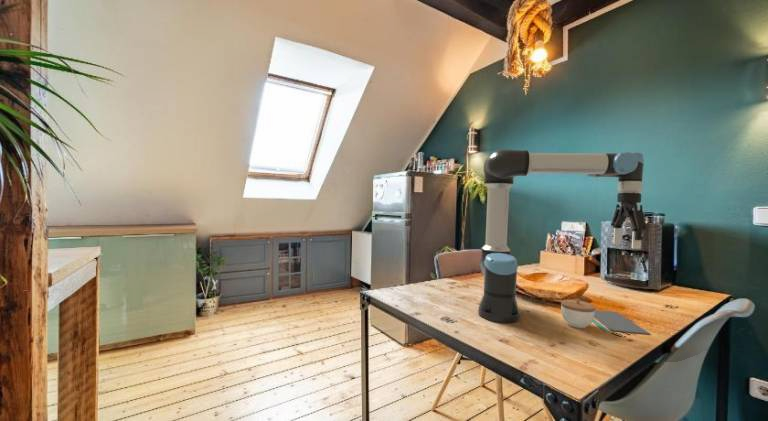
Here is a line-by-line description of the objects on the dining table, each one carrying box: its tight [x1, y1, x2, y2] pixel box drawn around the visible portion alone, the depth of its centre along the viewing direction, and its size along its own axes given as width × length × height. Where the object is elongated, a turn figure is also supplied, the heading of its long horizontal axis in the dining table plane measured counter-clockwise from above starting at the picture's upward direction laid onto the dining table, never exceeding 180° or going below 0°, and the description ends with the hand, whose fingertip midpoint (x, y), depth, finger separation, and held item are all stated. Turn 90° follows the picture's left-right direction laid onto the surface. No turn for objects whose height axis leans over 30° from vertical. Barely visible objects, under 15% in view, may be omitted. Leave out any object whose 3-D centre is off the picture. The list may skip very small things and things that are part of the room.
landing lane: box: [592, 309, 651, 335], centre depth 124 cm, size 15×24×1 cm, turn 169°
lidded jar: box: [560, 298, 596, 329], centre depth 118 cm, size 11×11×9 cm
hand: (626, 246), depth 128 cm, fingers open, 13 cm apart
